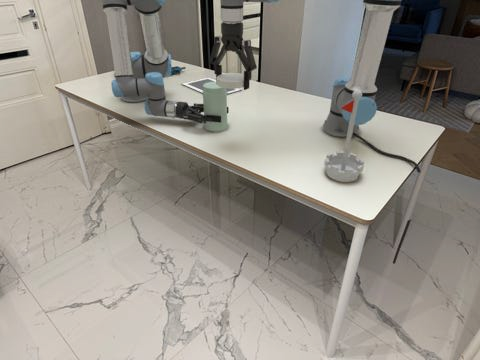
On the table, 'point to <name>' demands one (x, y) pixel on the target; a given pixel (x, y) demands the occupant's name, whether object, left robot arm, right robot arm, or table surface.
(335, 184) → the table surface
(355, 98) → the flag stand
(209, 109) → the jar
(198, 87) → the tablet
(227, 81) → the lid
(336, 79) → the right robot arm
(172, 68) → the submachine gun
